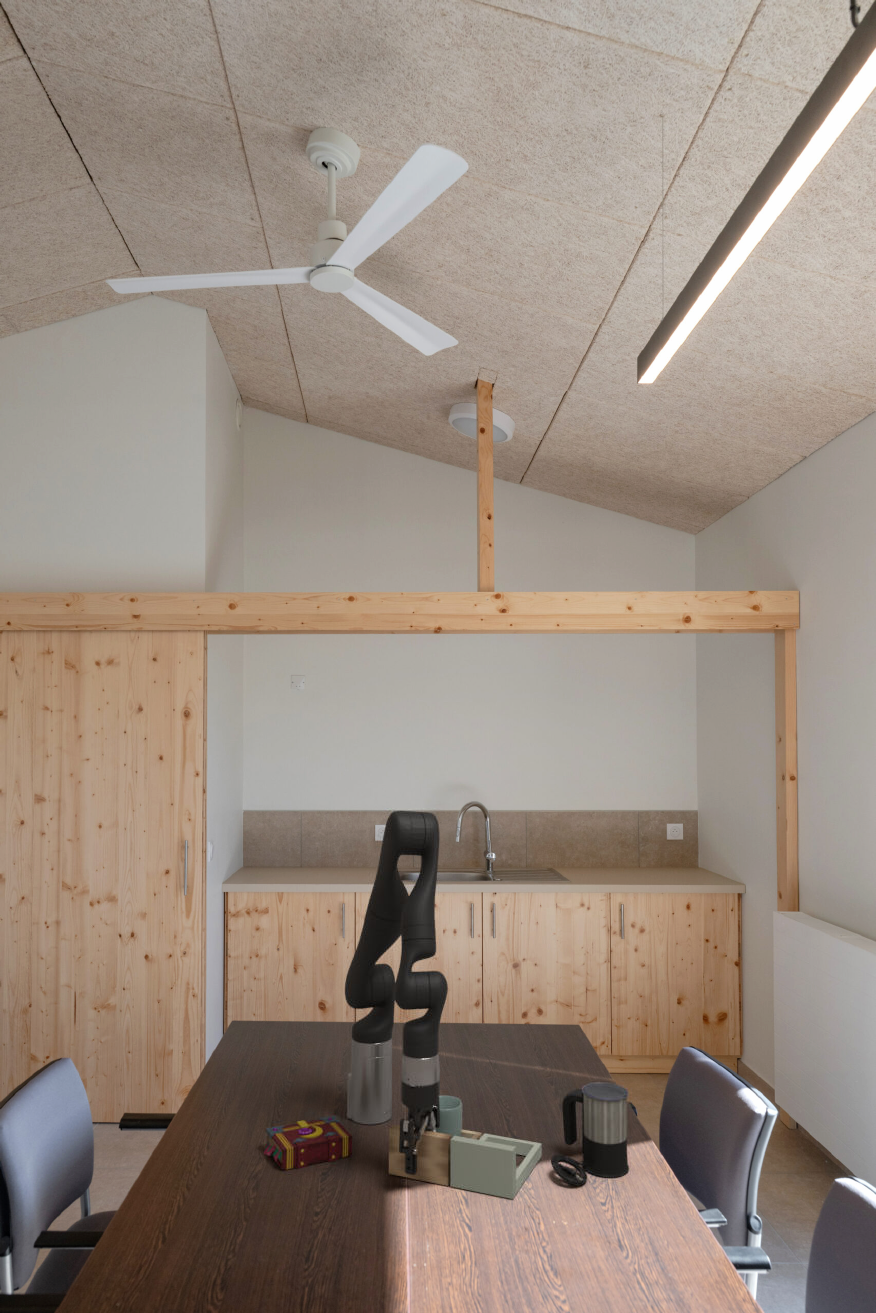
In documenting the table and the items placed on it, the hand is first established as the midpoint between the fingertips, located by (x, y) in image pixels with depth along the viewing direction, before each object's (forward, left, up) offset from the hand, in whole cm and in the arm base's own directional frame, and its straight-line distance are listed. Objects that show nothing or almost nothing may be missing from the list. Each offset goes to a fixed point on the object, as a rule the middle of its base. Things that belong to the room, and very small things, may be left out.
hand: (420, 1163), depth 173 cm
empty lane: (+13, +9, -3) cm, 16 cm away
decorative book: (-26, +1, -3) cm, 26 cm away
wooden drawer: (0, +9, -3) cm, 9 cm away
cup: (0, +12, -3) cm, 12 cm away
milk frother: (+30, +15, -3) cm, 34 cm away
